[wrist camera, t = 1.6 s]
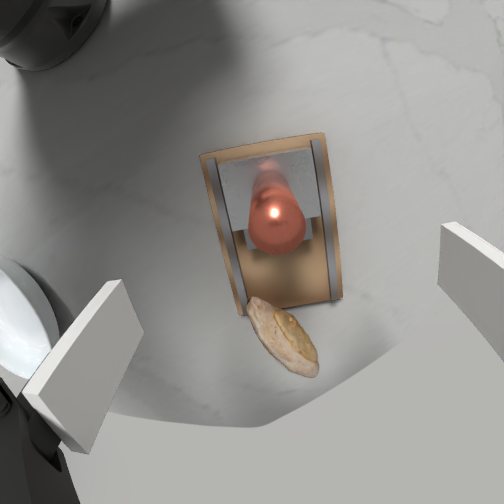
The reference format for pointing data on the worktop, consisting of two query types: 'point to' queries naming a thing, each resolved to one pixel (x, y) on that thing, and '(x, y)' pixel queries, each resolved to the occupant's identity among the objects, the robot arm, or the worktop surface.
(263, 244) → the copper peg on base
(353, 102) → the worktop surface
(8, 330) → the serving bowl
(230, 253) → the railed wooden base plate
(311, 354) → the tan elongated oval piece
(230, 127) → the worktop surface
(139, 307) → the worktop surface
